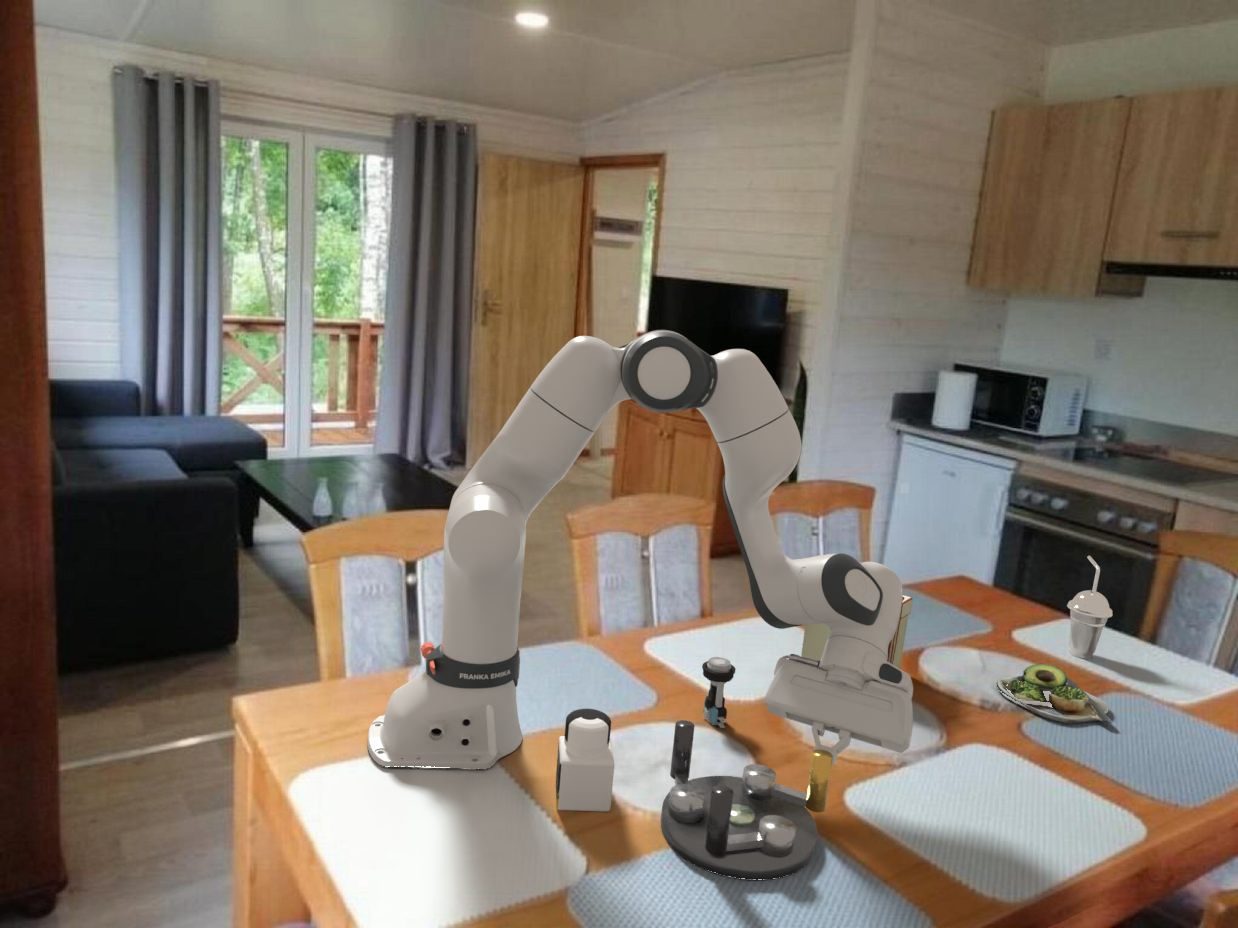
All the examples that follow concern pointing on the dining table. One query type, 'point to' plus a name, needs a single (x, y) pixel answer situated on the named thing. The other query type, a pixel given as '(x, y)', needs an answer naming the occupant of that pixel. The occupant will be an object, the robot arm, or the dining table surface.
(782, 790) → the amber footscrew
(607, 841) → the dining table surface
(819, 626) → the gift box
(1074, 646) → the cup with straw
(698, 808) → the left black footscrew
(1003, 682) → the salad plate
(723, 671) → the push button
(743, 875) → the levelling plate
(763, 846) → the front black footscrew
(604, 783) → the white and black device
